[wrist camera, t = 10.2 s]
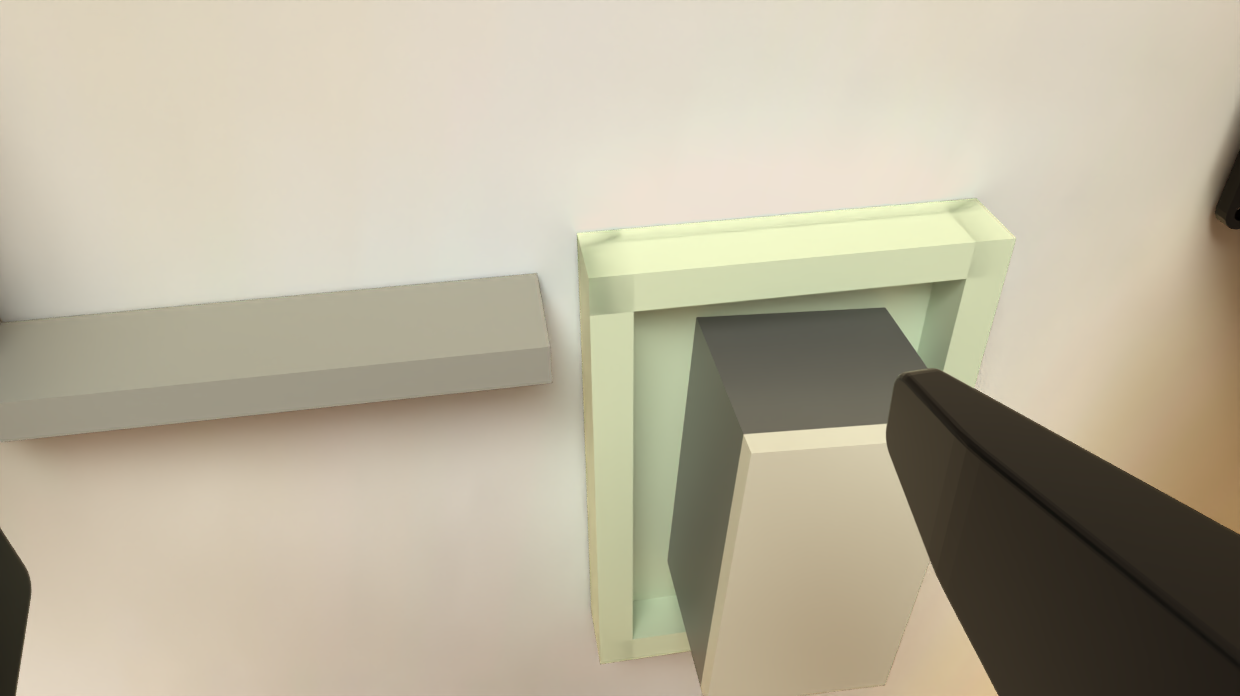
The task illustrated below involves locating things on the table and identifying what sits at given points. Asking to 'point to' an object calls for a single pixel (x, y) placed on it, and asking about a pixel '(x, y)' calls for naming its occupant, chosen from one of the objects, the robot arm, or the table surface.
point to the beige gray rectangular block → (793, 504)
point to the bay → (269, 355)
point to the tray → (741, 285)
